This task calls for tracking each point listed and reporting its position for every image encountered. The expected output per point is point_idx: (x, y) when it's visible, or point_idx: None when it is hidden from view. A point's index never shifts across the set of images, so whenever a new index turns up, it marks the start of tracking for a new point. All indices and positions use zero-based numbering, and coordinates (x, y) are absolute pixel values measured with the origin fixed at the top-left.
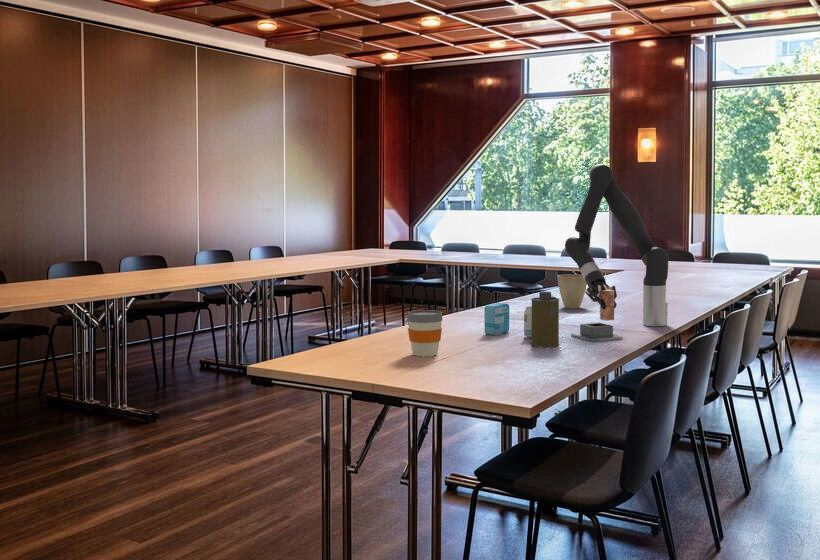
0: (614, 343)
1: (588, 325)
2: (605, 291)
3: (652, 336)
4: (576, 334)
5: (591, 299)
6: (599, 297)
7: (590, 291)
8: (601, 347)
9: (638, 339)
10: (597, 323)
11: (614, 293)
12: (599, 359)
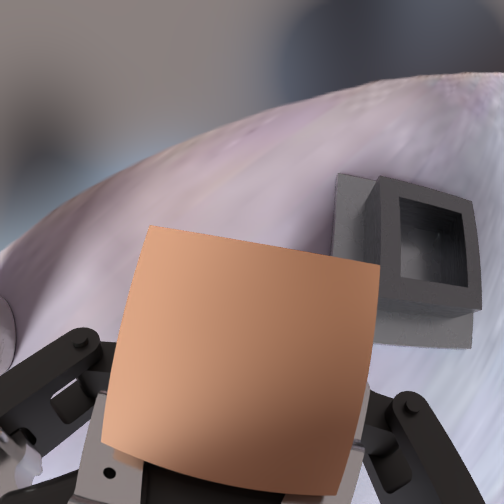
0: (407, 147)
1: (470, 254)
2: (374, 279)
3: (185, 161)
4: (465, 321)
5: (400, 468)
6: (368, 400)
7: (472, 498)
8: (462, 139)
9: (283, 145)
10: (405, 279)
11: (57, 365)
12: (489, 92)
